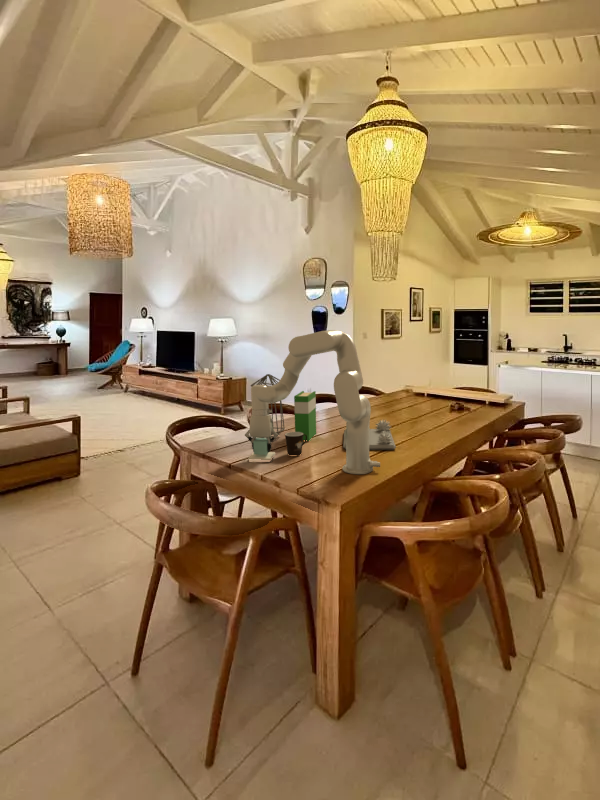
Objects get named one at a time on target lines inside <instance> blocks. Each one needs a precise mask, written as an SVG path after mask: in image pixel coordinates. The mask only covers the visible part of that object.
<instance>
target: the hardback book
mask: <svg viewBox="0 0 600 800" xmlns="http://www.w3.org/2000/svg"><path fill="white" fill-rule="evenodd" d="M316 394H317V393H316V391H315V390H314V391H312V392H305V391H304V390H302V391H300V392H299V393H296V394H295V395H294V397H293V400H294V401H293V402H294V404H293V405H294V432H301V433H303V434H305V435H307V441H309V440H310V439H311V438H312V437H313V436H314V435H315V434H316V435H317V404H316V403H317V402H316V399H317V398H316ZM305 435H304V436H303V440H306V436H305ZM316 435H315V436H316ZM315 436H314V437H315ZM314 437H313V438H314ZM313 438H312V439H313ZM312 439H311V440H312ZM311 440H310V441H311Z"/></svg>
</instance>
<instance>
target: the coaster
mask: <svg viewBox="0 0 600 800" xmlns="http://www.w3.org/2000/svg"><path fill="white" fill-rule="evenodd" d="M274 455H275V456H276V452H275V451H270V452H269V453H268V454H267V455H260V454H254V452H253V451H252V453H251V454H250V455H249V456H248V459H261V460H271V458H272V457H273V456H274Z"/></svg>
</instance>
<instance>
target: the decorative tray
mask: <svg viewBox="0 0 600 800" xmlns="http://www.w3.org/2000/svg"><path fill="white" fill-rule="evenodd" d="M390 424H391V422H390V421H387V419H385V420H384V418H383V419H382V420H381V419H379V420H377V423H375V426H374V428H369V451H372V450H373V451H374V450H375V451H377V450H378V451H380V450H381V451H393V450H395V449H396V448H397V447H396V444H395V441H394V437H393V435H392V430H391V429H392V428H393V427H392V426H391V425H390ZM342 448H343V449H345V450H346V429H345V430H344V432H343V447H342Z"/></svg>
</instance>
